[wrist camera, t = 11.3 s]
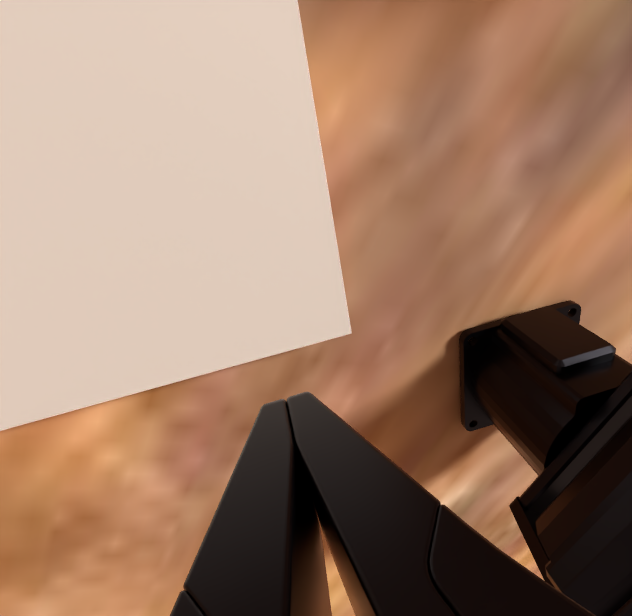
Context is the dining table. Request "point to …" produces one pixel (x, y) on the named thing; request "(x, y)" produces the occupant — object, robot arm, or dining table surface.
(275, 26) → the deck
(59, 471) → the dining table surface
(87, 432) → the dining table surface
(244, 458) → the robot arm
